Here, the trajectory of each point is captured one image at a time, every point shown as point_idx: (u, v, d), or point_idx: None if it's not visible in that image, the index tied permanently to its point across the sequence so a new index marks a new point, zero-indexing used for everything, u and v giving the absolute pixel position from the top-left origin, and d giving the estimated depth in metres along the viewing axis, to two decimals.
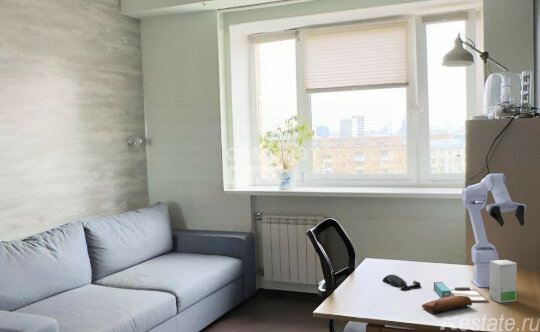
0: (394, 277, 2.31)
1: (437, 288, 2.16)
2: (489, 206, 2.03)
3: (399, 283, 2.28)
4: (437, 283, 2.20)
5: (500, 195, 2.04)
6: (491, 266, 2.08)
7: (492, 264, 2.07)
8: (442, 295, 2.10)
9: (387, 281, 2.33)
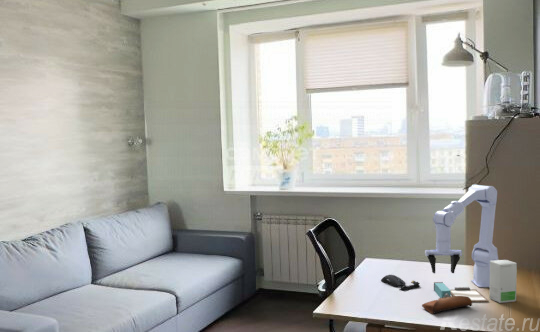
0: (393, 277, 2.31)
1: (437, 288, 2.16)
2: (427, 253, 2.13)
3: (398, 283, 2.28)
4: (437, 283, 2.20)
5: (441, 244, 2.11)
6: (491, 266, 2.08)
7: (492, 264, 2.07)
8: (442, 295, 2.10)
9: (386, 281, 2.33)
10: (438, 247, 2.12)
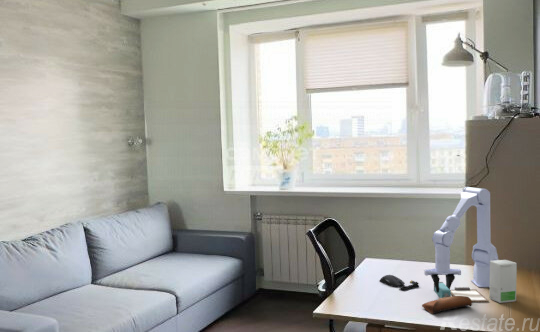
0: (392, 277, 2.31)
1: None
2: (427, 273, 2.14)
3: (397, 283, 2.28)
4: None
5: (440, 263, 2.12)
6: (491, 266, 2.08)
7: (492, 264, 2.07)
8: (442, 295, 2.10)
9: (385, 281, 2.32)
10: (437, 267, 2.13)
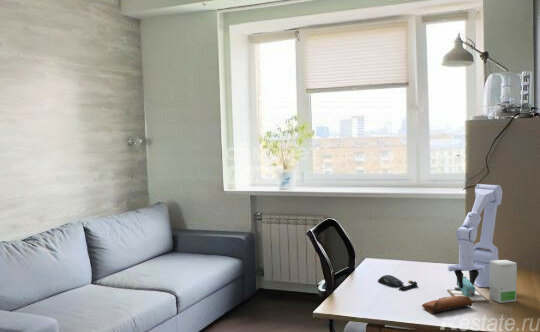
0: (391, 277, 2.31)
1: None
2: (450, 269, 2.14)
3: (397, 283, 2.27)
4: None
5: (464, 259, 2.12)
6: (491, 266, 2.08)
7: (492, 264, 2.07)
8: (466, 291, 2.11)
9: (383, 282, 2.32)
10: (461, 263, 2.14)
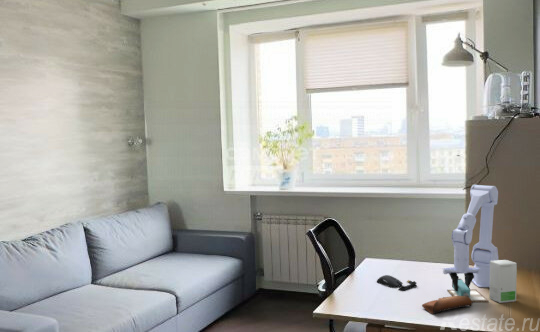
0: (390, 278, 2.31)
1: None
2: (445, 272, 2.12)
3: (396, 283, 2.27)
4: None
5: (459, 262, 2.10)
6: (491, 266, 2.08)
7: (492, 264, 2.07)
8: (461, 294, 2.08)
9: (383, 282, 2.32)
10: (456, 265, 2.11)
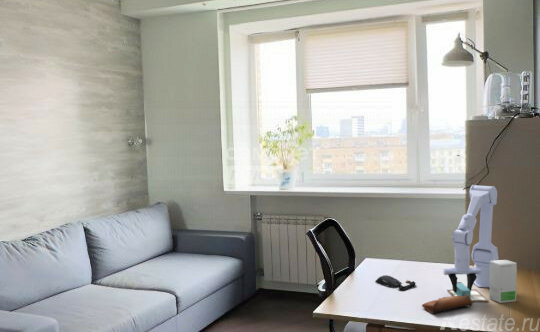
0: (389, 278, 2.30)
1: None
2: (446, 272, 2.11)
3: (395, 283, 2.27)
4: None
5: (460, 263, 2.09)
6: (491, 266, 2.08)
7: (492, 264, 2.07)
8: (462, 295, 2.07)
9: (382, 282, 2.31)
10: (457, 266, 2.10)
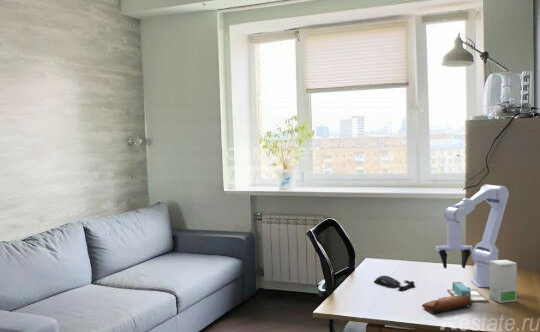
0: (388, 278, 2.30)
1: (456, 288, 2.13)
2: (439, 249, 2.17)
3: (394, 284, 2.27)
4: (456, 283, 2.17)
5: (452, 239, 2.15)
6: (491, 266, 2.08)
7: (492, 264, 2.07)
8: (462, 295, 2.07)
9: (381, 283, 2.31)
10: (449, 243, 2.16)
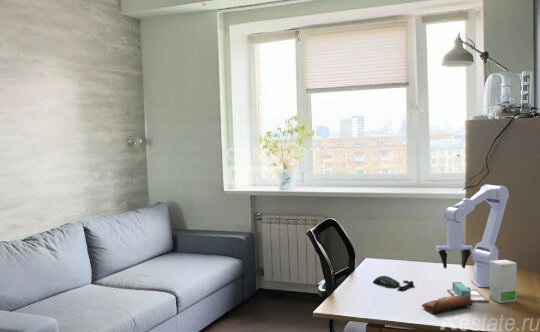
0: (387, 278, 2.30)
1: (456, 288, 2.13)
2: (439, 249, 2.17)
3: (394, 284, 2.27)
4: (456, 283, 2.17)
5: (452, 239, 2.15)
6: (491, 266, 2.08)
7: (492, 264, 2.07)
8: (462, 295, 2.07)
9: (380, 283, 2.31)
10: (449, 243, 2.16)
